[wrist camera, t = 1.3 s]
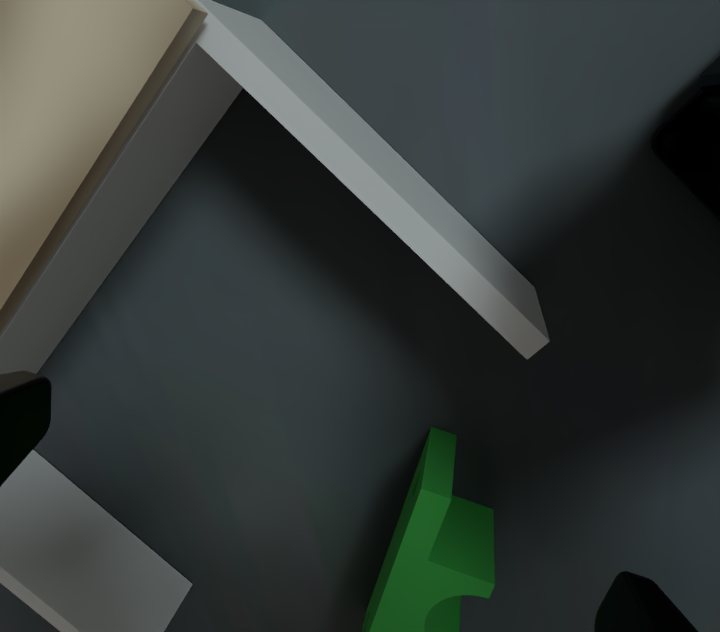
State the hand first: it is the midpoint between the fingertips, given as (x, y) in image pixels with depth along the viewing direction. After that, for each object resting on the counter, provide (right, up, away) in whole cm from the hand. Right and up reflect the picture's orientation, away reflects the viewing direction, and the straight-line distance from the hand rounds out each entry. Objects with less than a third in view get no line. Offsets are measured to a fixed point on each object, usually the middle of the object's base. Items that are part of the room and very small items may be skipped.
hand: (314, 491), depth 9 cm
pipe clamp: (+4, -7, +16) cm, 18 cm away
